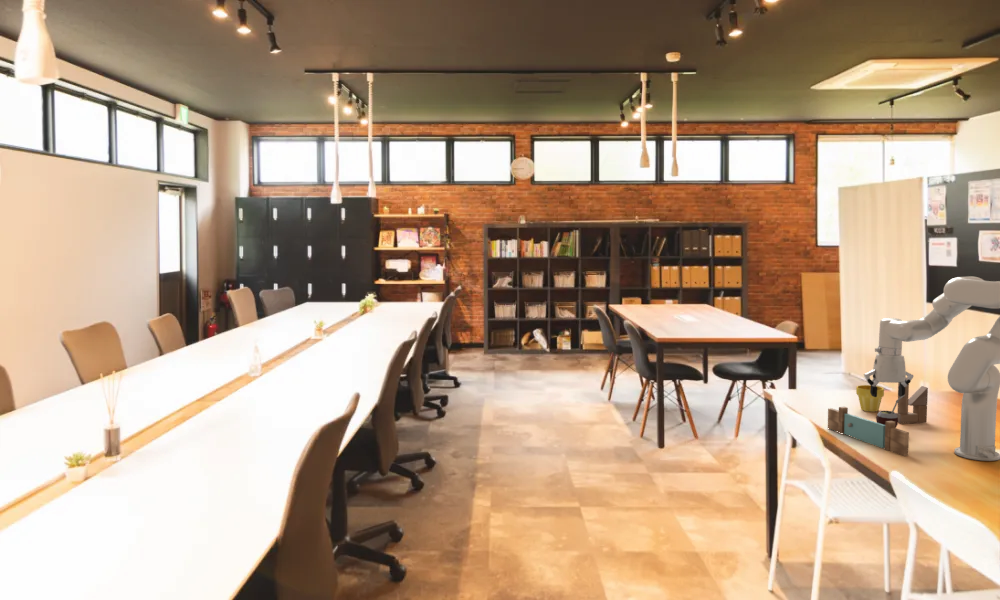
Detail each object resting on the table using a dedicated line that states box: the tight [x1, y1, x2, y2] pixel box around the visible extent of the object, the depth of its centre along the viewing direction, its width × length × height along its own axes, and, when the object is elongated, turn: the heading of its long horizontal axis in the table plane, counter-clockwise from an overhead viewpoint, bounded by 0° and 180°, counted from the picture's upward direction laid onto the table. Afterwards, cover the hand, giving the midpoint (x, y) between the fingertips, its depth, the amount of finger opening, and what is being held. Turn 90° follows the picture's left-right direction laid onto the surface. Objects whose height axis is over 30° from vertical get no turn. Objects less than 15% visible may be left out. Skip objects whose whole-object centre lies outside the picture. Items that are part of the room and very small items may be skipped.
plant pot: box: [855, 384, 885, 413], centre depth 292 cm, size 10×10×10 cm
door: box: [843, 413, 885, 449], centre depth 247 cm, size 18×2×8 cm, turn 15°
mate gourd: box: [875, 395, 905, 428], centre depth 256 cm, size 8×8×15 cm
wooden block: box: [895, 376, 929, 424], centre depth 271 cm, size 4×11×18 cm, turn 93°
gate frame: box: [827, 406, 910, 457], centre depth 247 cm, size 36×2×10 cm, turn 15°
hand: (887, 396), depth 256 cm, fingers open, 9 cm apart
